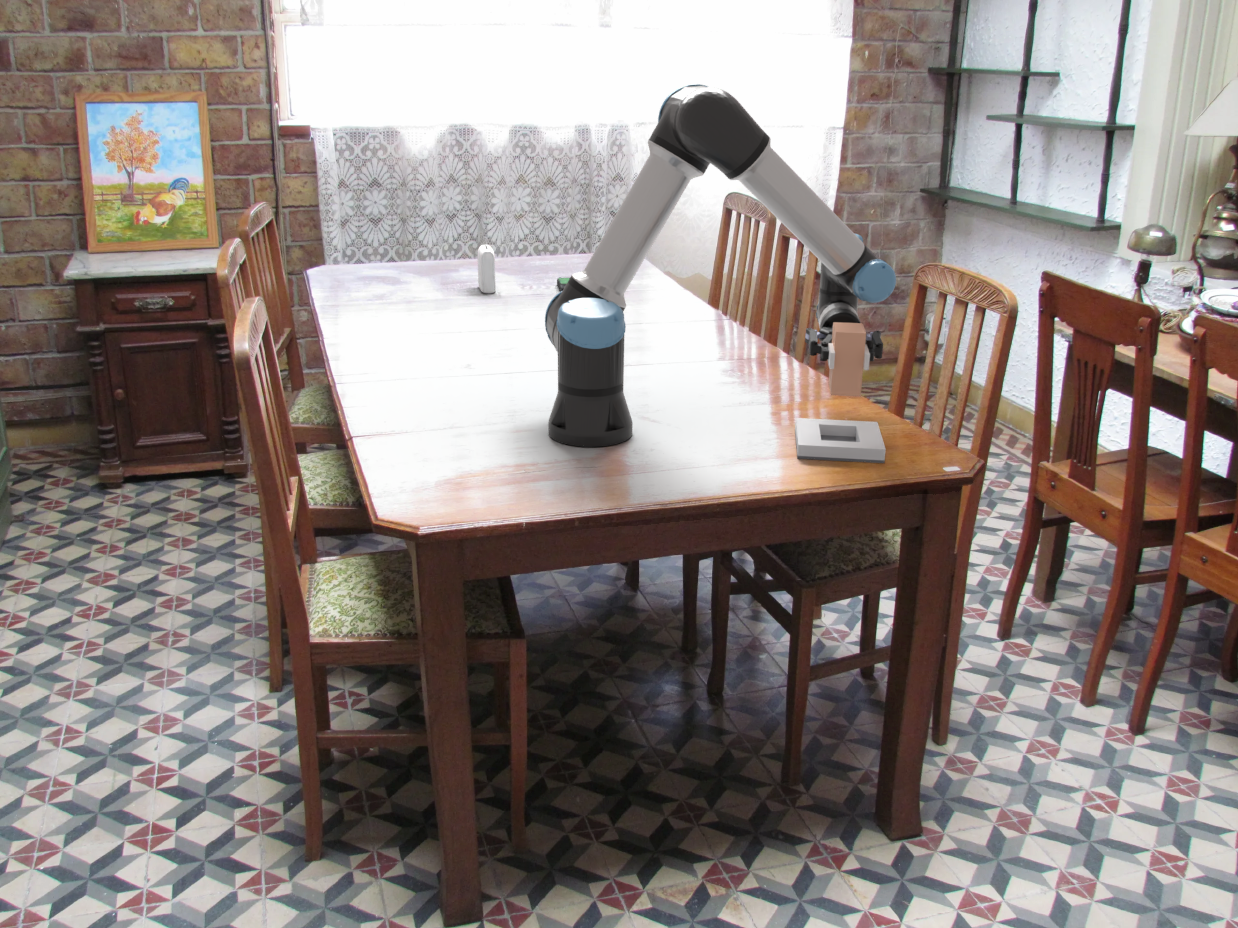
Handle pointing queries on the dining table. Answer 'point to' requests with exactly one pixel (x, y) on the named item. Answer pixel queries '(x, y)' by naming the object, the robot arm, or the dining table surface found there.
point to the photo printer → (486, 269)
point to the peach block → (847, 359)
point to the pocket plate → (839, 440)
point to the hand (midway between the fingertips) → (849, 361)
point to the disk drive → (562, 283)
